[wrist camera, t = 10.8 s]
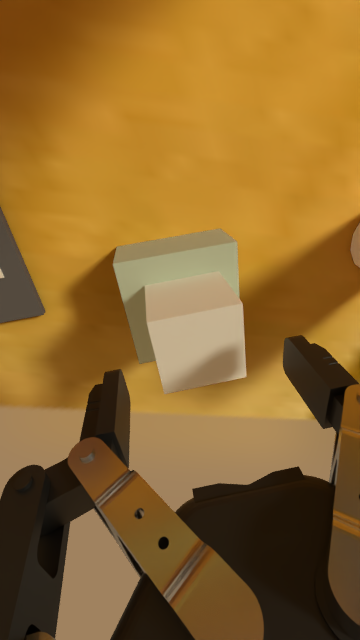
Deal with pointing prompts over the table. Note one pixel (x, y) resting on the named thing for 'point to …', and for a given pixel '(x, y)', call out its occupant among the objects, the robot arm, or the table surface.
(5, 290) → the card
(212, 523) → the robot arm
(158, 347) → the cream cube
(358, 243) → the foam cup
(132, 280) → the green block
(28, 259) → the table surface
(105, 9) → the table surface
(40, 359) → the table surface
